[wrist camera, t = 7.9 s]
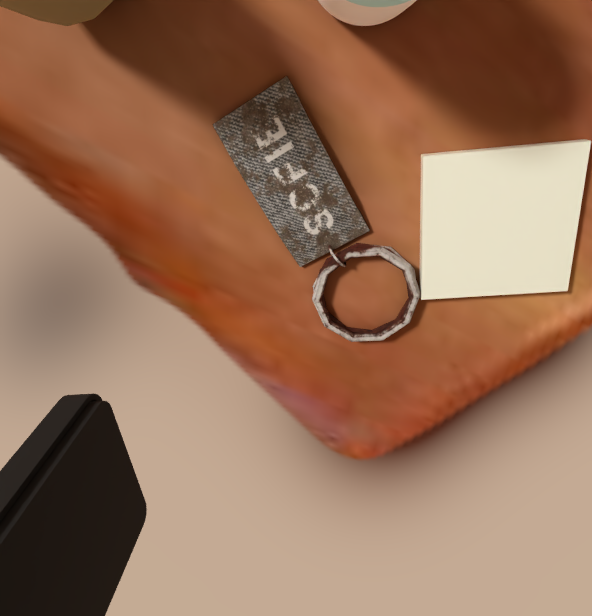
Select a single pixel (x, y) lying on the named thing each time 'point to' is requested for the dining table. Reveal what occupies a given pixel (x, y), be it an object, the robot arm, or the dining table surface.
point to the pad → (500, 219)
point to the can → (365, 10)
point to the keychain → (305, 195)
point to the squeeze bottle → (58, 9)
